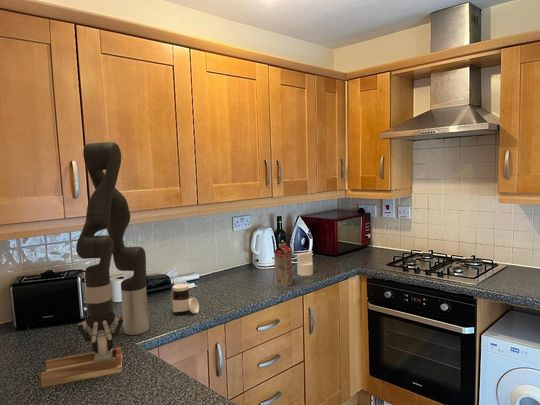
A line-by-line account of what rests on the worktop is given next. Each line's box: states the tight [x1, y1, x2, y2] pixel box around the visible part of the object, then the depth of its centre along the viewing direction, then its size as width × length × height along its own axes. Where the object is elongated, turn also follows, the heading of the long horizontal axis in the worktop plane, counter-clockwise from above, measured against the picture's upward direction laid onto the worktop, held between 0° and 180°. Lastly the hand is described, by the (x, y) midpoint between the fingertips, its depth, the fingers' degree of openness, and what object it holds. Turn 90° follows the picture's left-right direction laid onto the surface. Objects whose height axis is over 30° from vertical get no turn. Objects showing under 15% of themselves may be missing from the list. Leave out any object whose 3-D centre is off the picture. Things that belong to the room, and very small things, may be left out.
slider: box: [94, 332, 113, 362], centre depth 124 cm, size 6×5×9 cm
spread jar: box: [171, 283, 200, 316], centre depth 171 cm, size 12×11×12 cm
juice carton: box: [273, 242, 294, 288], centre depth 206 cm, size 7×7×22 cm
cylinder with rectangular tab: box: [296, 251, 314, 277], centre depth 226 cm, size 9×9×12 cm
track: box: [40, 346, 123, 388], centre depth 122 cm, size 10×22×4 cm, turn 110°
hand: (103, 350), depth 124 cm, fingers closed on slider, 3 cm apart
